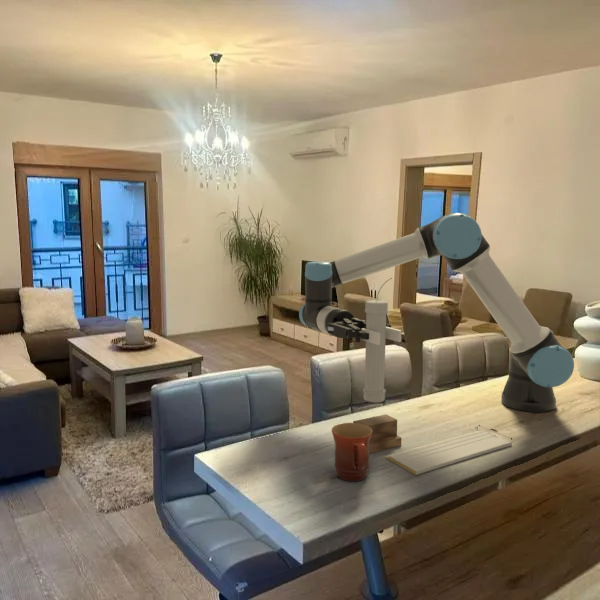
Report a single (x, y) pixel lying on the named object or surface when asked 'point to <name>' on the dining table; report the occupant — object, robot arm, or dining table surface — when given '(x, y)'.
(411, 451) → the baseboard molding
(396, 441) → the walnut stepped block
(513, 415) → the dining table surface
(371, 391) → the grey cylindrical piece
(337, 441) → the mug
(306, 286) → the robot arm
